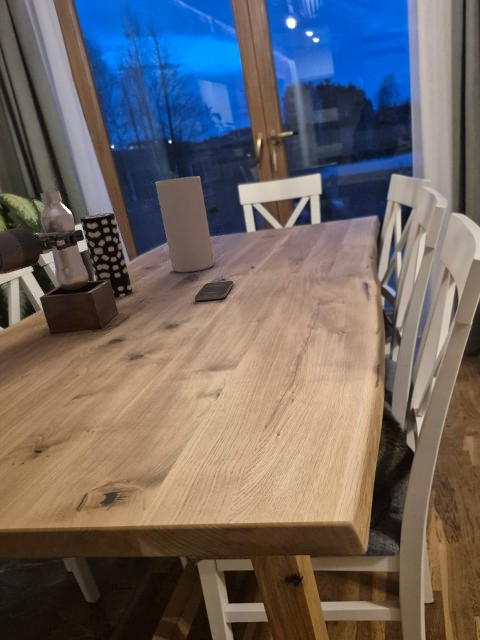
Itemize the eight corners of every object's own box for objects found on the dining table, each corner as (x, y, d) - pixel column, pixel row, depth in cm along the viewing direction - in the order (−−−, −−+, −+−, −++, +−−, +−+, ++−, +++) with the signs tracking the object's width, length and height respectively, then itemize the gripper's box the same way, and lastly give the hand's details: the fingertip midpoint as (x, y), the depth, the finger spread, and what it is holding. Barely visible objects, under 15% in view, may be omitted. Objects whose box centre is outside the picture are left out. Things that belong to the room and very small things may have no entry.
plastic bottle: (54, 291, 127) (27, 195, 118) (83, 283, 131) (59, 190, 123) (67, 294, 122) (39, 194, 114) (96, 286, 126) (72, 189, 118)
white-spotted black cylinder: (125, 288, 158) (106, 212, 150) (137, 292, 152) (119, 213, 143) (95, 295, 154) (75, 218, 145) (107, 300, 148) (86, 219, 139)
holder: (50, 333, 125) (39, 297, 122) (70, 317, 136) (61, 284, 132) (101, 328, 125) (91, 292, 121) (118, 313, 135) (109, 279, 132)
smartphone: (233, 280, 149) (224, 295, 135) (234, 283, 149) (225, 298, 135) (205, 283, 149) (193, 298, 136) (205, 286, 150) (193, 301, 136)
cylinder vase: (202, 261, 181) (187, 176, 171) (222, 265, 172) (207, 176, 161) (166, 270, 175) (148, 182, 164) (185, 275, 165) (167, 182, 155)
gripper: (28, 229, 106) (91, 215, 120) (-26, 233, 112) (40, 218, 125) (40, 270, 109) (100, 251, 123) (-13, 271, 115) (50, 253, 128)
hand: (69, 235), depth 124 cm, fingers closed on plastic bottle, 6 cm apart
